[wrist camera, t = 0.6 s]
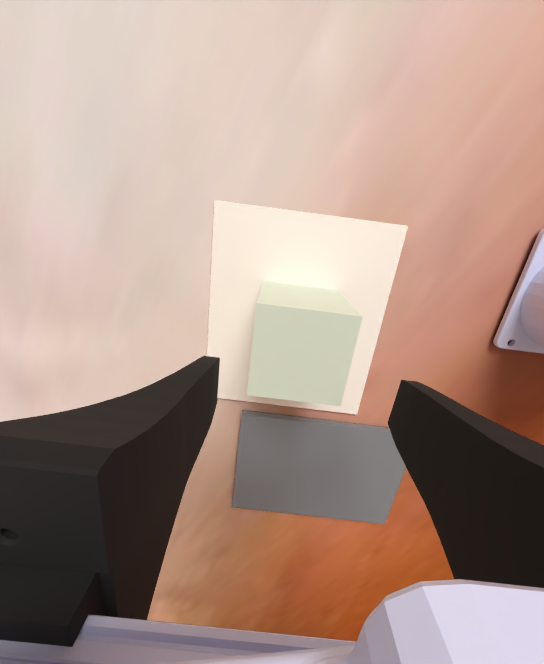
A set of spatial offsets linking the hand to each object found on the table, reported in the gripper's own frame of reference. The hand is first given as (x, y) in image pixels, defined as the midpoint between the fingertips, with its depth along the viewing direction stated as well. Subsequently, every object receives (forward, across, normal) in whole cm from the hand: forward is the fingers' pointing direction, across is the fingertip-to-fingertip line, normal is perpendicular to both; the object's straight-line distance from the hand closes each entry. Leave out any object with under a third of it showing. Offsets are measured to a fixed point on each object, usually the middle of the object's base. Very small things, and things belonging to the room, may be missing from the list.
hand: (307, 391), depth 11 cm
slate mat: (+9, -4, +13) cm, 16 cm away
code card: (+9, 0, 0) cm, 9 cm away
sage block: (+9, 0, 0) cm, 9 cm away
